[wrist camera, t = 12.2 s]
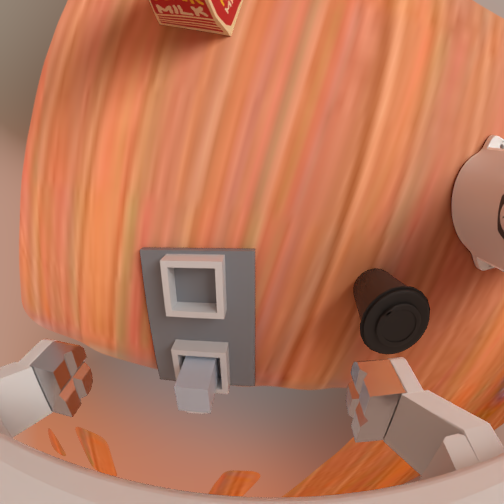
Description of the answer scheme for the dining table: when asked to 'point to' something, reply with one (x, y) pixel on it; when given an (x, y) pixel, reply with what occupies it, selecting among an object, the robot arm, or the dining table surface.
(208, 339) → the panel
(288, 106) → the dining table surface
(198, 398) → the plug
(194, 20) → the milk carton
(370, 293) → the coffee cup
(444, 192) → the dining table surface
